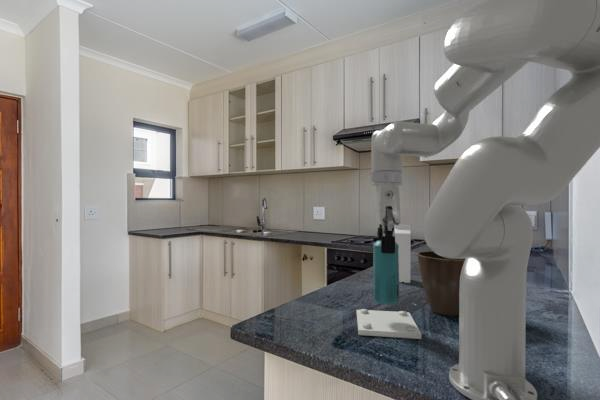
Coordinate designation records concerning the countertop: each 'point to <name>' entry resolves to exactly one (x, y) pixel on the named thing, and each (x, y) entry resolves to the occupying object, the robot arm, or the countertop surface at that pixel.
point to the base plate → (387, 324)
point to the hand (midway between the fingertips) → (386, 250)
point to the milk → (403, 251)
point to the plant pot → (441, 282)
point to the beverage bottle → (385, 274)
